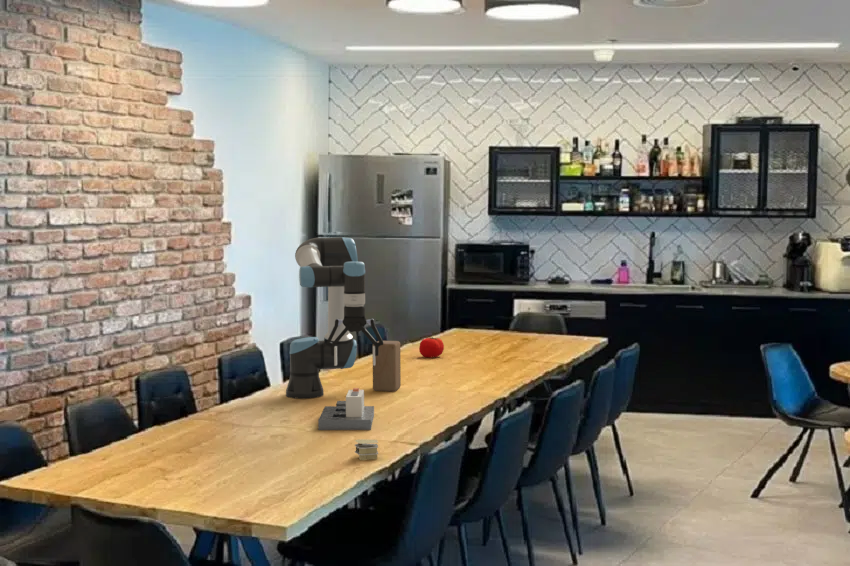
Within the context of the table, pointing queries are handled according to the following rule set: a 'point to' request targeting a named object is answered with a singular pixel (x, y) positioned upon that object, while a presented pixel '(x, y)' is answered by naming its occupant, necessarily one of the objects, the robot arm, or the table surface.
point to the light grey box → (355, 403)
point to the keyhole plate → (345, 419)
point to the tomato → (431, 347)
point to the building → (366, 449)
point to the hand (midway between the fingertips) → (355, 365)
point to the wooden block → (387, 367)
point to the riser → (341, 403)
